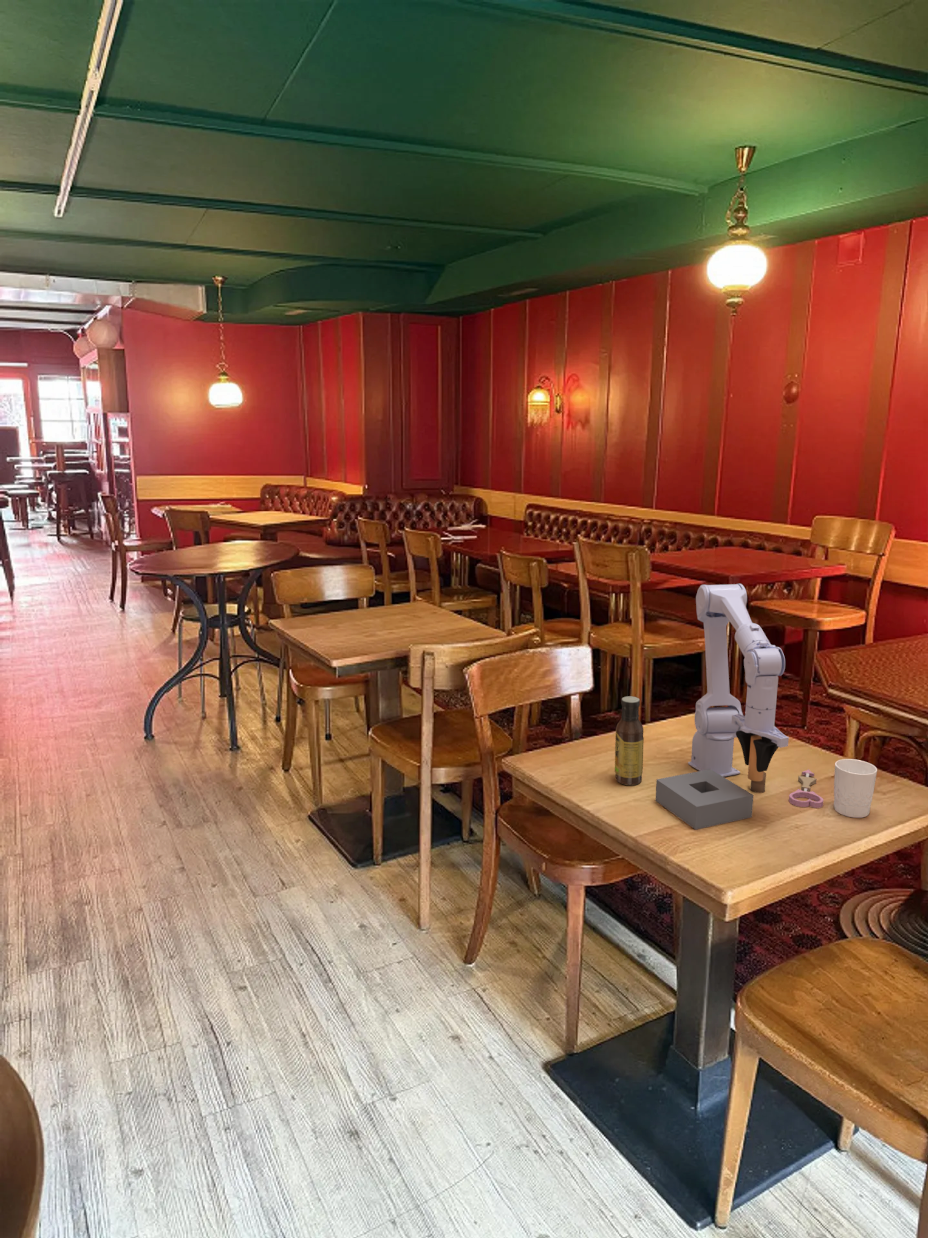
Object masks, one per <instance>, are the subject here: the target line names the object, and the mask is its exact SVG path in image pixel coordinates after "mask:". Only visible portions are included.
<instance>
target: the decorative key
mask: <svg viewBox="0 0 928 1238" xmlns="http://www.w3.org/2000/svg"><path fill="white" fill-rule="evenodd" d="M814 777H815V773H814V772H812V771H811V770H810V769H809V768H808V769H806V770H804V771H801V775H798V780H797V781H798V782H800V783H801V787H800V788H798V789H797V790H794V791H793V792H791V793H790V794H789V795H788V802H789V803H790V804H791V805H793V806H796V807H799V808H808V807H811V808H814V809H821V808H823V806H824V798H823V797H822V796H820V795H818V794H817V793H816V792H815V791H813V790H812V791H811V789H812V788H811V786H812V785H814V784H815V785H816V784H817V778H814ZM799 798H807V800H800V799H799ZM798 799H799V800H798Z"/></svg>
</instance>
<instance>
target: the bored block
mask: <svg viewBox="0 0 928 1238" xmlns="http://www.w3.org/2000/svg"><path fill="white" fill-rule="evenodd" d="M655 781H656V782H655V802H657V803H658V804H659V805H660V806H662V807H663V808H665V809H666V810H668V811H669V812H671V813H672V814H673V815H674V816H676V817H677V818H678V819H680V820H681V821H683V822H684V823H685V824H687V825H688V826H690V827H691V828H692V829H694V830H701V829H704V828H708V827H714V826H718V825H723V824H727V823H732V822H738V821H742V820H745V819H751V818H753V807H754V794H752V793H751V792H750V791H748V790H746V789H744V788H743V787H741V786H739V785H738V784H736V783H734V782H733V781H731V780H729V779H727V778H726V777H723V776H721V775H719V774H718V773H716V772H714V771H713V770H711V769H708V770H703V771H699V770H697V771H693V772H688V773H683V774H677V775H673V776H672V775H671V776H668V777H663V778H656V780H655Z"/></svg>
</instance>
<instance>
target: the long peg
mask: <svg viewBox="0 0 928 1238" xmlns="http://www.w3.org/2000/svg"><path fill="white" fill-rule="evenodd" d="M757 739H762V737H761V736H759V735H753V736H751V742H750V755H749V765H748V766H747V767H748V771H747V779H748V780H750V781H751V780H752V781H762V780H763V773H764V772H765V771H763V772H758V771H757V767H756V759H757V757H756V749H755V746H754V743H753V740H757Z"/></svg>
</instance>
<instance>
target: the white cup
mask: <svg viewBox="0 0 928 1238" xmlns="http://www.w3.org/2000/svg"><path fill="white" fill-rule="evenodd" d="M877 774H878V768H877V767H876V766H875V765H874V764H872V763H870V762H867V761H864V760H859V759H856V758H855V759H854V758H843V759H838V760H837V761H835V763H834V778H833V779H834V781H833V796H834V797H833V809H834V811H835V812H837V813H838V814H841V815H842V816H845V817H850V818H853V819H854V818H857V819H860V818H867V817H868V816H869V815H870V811H871V804H872V802H873V795H874V791H875V784H876V779H877Z"/></svg>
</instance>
